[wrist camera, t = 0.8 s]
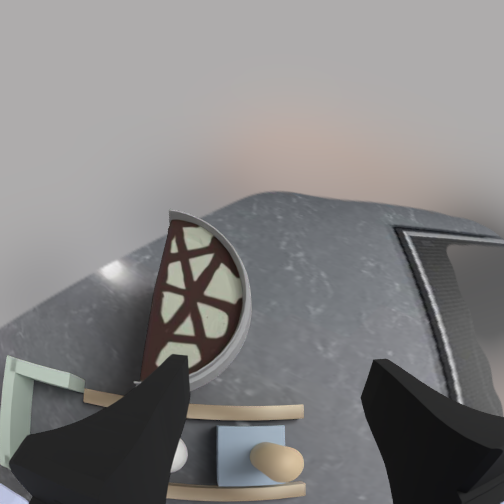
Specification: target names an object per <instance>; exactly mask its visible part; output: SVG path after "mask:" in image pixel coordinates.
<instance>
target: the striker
mask: <svg viewBox="0 0 504 504" xmlns="http://www.w3.org/2000/svg"><path fill="white" fill-rule="evenodd" d="M216 463H217V483H218V486H261V485H275V484H286V482H290V481H292V480H294V479H295V478H297V477H298V476H299V475H300V474H301V472H302V470H303V467H304V460H303V457H302V455H301V454H300V453H299V452H298V451H297V450H295V449H293V448H290V447H286V446H285V425H270V426H218V425H217V431H216Z"/></svg>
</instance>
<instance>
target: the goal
mask: <svg viewBox="0 0 504 504" xmlns="http://www.w3.org/2000/svg"><path fill="white" fill-rule="evenodd" d="M34 380H36V381H39V382H43V383H46V384H50V385H53V386H57V387H61V388H64V389H68V390H72V391H77V392H81V393H84V387H85V380H84V379H82V378H79V377H77V376H75V375H73V374H71V373H67V372H63V371H59V370H55V369H51V368H48V367H44V366H40V365H37V364H33V363H30V362H27V361H23V360H20V359H17V358H14V357H11V356H8V355H7V360H6V366H5V373H4V380H3V389H2V399H1V412H0V465H2V466H4V467H6V468H8V469H10V466H9V461H10V459H11V458H12V456H13V455H14V453H15V452H16V450H17V449H18V447H19V446H20V444H21V443H22V441H23V440H24V439H25V437H26V436H27V435H30V423H31V407H32V396H33V386H34ZM10 470H11V469H10Z"/></svg>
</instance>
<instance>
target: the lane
mask: <svg viewBox="0 0 504 504" xmlns="http://www.w3.org/2000/svg"><path fill="white" fill-rule="evenodd" d="M122 397H124V396H122V395H116V394H110V393H105V392H100V391H95V390H90V389H86V388H85V389H84V401H83V402H86V403H90V404H95V405H99V406H104V407H108V406H110V405H112V404H113V403H115V402H116V401H118V400H119V399H121V398H122ZM187 418H193V419H210V420H282V419H299V418H304V407H303V405H285V406H219V405H200V404H189V407H188V412H187ZM298 496H305V483H303V482H301V481H297V482H288V483H286V484H275V485H261V486H218V485H193V484H180V483H170V482H169V484H168V490H167V497H166V498H171V499H182V500H196V501H256V500H271V499H282V498H291V497H298Z"/></svg>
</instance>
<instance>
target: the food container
mask: <svg viewBox="0 0 504 504" xmlns="http://www.w3.org/2000/svg"><path fill="white" fill-rule="evenodd" d="M169 222H170V226H169V228H168V235H167V240H166V244H165V248H164V252H163V256H162V260H161V264H160V268H159V272H158V276H157V280H156V284H155V289H154V294H153V300H152V306H151V312H150V318H149V324H148V330H147V336H146V342H145V348H144V355H143V362H142V369H141V377H140V381H144V380H145V379H146V378H147V377H148V376H149V375H150V374H151V373H152V372H154V371H155V370H156V369H157V368H158V367H159V366H160V365H161V364H162V363H163V362H164V361H165V360H166V359H167V358H168V357H169V356H170V355H171V354H178V355H187V356H188V366H189V382H190V391H193V390H195V389H197V388H200V387H202V386H204V385H206V384H207V383H209V382H210V381H212V380H213V379H215V378H216V377H218V376H219V375H220V374H221V373H222V372H223V371H224V370H225V369H226V368H227V367H228V366H229V365H230V364H231V363H232V361H233V360H234V359H235V357H236V356H237V355H238V353H239V351H240V349H241V347H242V346H243V344H244V342H245V340H246V336H247V333H248V330H249V327H250V321H251V313H252V306H251V291H250V285H249V280H248V275H247V273H246V270H245V267H244V265H243V262H242V261H241V259H240V257H239V255H238V254H237V252H236V250H235V249H234V247H233V246H232V245H231V244H230V242H229V241H228V240H227V239H226V237H225V236H224V235H223V234H221V233H220V232H219V231H218V230H217V229H216V228H215V227H213V226H212V225H210V224H209V223H207V222H206V221H204V220H202V219H200V218H198V217H195V216H193V215H191V214H187V213H184V212H181V211H176V210H171V209H170V210H169ZM140 383H141V382H136V381H134V384H136V386H138V385H139V384H140Z"/></svg>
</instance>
